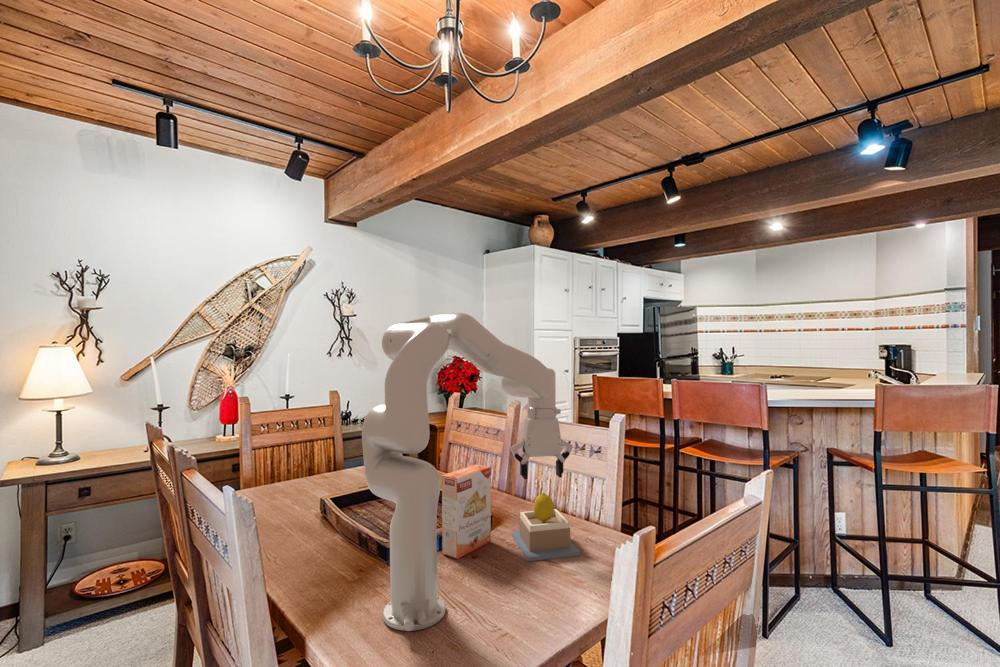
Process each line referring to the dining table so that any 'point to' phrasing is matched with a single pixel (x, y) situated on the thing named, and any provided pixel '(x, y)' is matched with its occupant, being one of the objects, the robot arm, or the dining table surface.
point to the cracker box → (466, 510)
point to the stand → (544, 537)
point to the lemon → (543, 507)
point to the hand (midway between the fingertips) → (541, 477)
